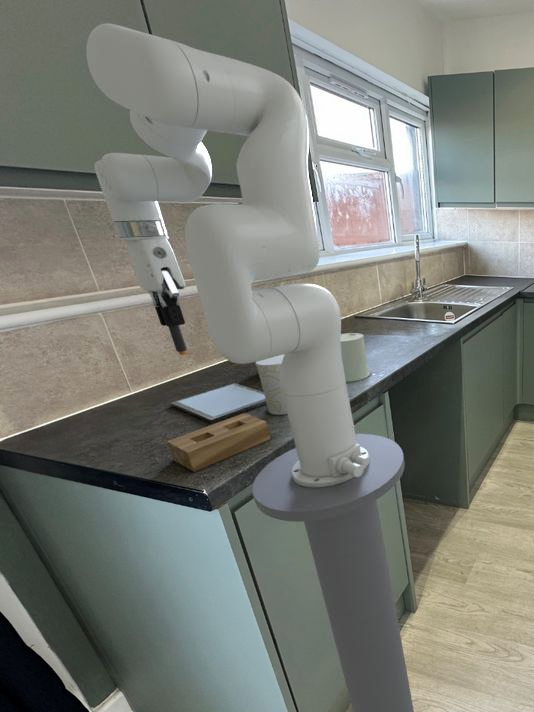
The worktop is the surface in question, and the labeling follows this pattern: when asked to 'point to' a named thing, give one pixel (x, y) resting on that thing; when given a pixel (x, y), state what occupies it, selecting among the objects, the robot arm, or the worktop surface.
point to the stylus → (178, 339)
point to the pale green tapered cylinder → (354, 357)
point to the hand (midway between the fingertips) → (173, 324)
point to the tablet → (221, 402)
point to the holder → (218, 441)
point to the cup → (272, 384)
